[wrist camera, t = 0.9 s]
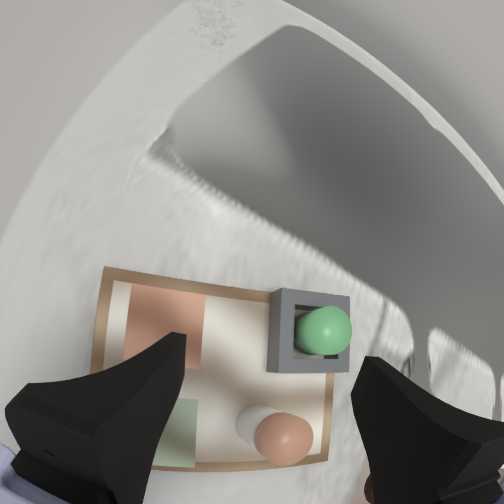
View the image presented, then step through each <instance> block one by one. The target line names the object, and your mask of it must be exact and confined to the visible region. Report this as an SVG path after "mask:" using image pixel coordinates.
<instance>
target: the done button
mask: <svg viewBox="0 0 504 504" xmlns="http://www.w3.org/2000/svg"><path fill="white" fill-rule="evenodd" d="M351 335H352V327H351V322H350V320H349V317H348V316H347V314H346V313H345V312H344V311H343V310H342V309H340V308H338V307H336V306H326V307H323V308H319V309H316V310H312V311H309V312H305V313H303V314H302V315H300V316H299V317H298V318H297V320H296V321H295V324H294V343H295V345H296V346H297V348H298V349H299V350H300V351H301V352H302V353H304V354H306V355H334V354H338V353H340V352H342V351H343V350H344V349H345V348H346V347H347V346H348V344H349V342H350V339H351Z"/></svg>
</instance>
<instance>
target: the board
mask: <svg viewBox="0 0 504 504" xmlns="http://www.w3.org/2000/svg"><path fill="white" fill-rule="evenodd" d="M270 293H271V292H264V291H257V290H249V289H242V288H235V287H228V286H221V285H215V284H208V283H201V282H195V281H188V280H182V279H176V278H170V277H164V276H158V275H152V274H146V273H140V272H134V271H128V270H123V269H117V268H112V267H106V266H104V271H103V277H102V282H101V288H100V294H99V301H98V308H97V315H96V322H95V330H94V339H93V349H92V360H91V373H90V374H93V373H97V372H100V371H103V370H106V369H108V368H111V367H113V366H115V365H118V364H120V363H122V362H124V361H126V360H128V359H129V358H131V357H133V356H135V355H137V354H138V353H140V352H142V351H143V350H145V349H146V348H148V347H150V346H151V345H153V344H154V343H155V342H157V341H158V340H160V339H161V338H163V337H164V336H166V335H167V334H169V333H170V332H177V333H182V334H187V338H186V356H185V376H184V379H183V383H182V387H181V390H180V393H179V396H178V399H177V401H176V403H175V406H174V408H173V410H172V412H171V415H170V417H169V419H168V421H167V424H166V426H165V428H164V431H163V433H162V435H161V438H160V440H159V443H158V446H157V449H156V453H155V456H154V460H153V463H152V467H151V469H152V470H165V471H183V472H233V471H252V470H264V469H275V468H284V467H292V466H299V465H306V464H312V463H318V462H323V461H328V453H329V442H330V431H331V419H332V404H333V387H334V373H271V372H267V353H268V334H269V313H270ZM305 312H309V311H304V310H295V313H294V324H295V321H296V320H297V318H298V317H299V316H300V315H302V314H303V313H305ZM293 359H324V355H306V354H304V353H302V352H301V351H300V350H299V349H298V348H297V346H296V345H295V343H294V342H293ZM254 404H262V405H266V406H268V407H271V408H273V409H276V410H279V411H282V412H285V413H289V414H292V415H295V416H298V417H301V418H303V419H305V420H306V421H307V422H308V423H309V424H310V426H311V427H312V430H313V435H314V439H313V444H312V447H311V449H310V451H309V452H308V454H307V455H306V456H305V457H304V458H303V459H302V460H301V461H299V462H297V463H295V464H293V465H289V466H279V465H276V464H274V463H272V462H270V461H269V460H268V459H266V458H265V457H264V456H262V455H261V454H260V453H259V452H258V451H257V450H255V449H254V448H253V447H251V446H250V445H249V444H248V443H246V442H245V441H244V440H242V439H241V438H240V437H239V435H238V433H237V431H236V420H237V417H238V415H239V414H240V412H241V411H242V410H243V409H245V408H246V407H248V406H250V405H254Z"/></svg>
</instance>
